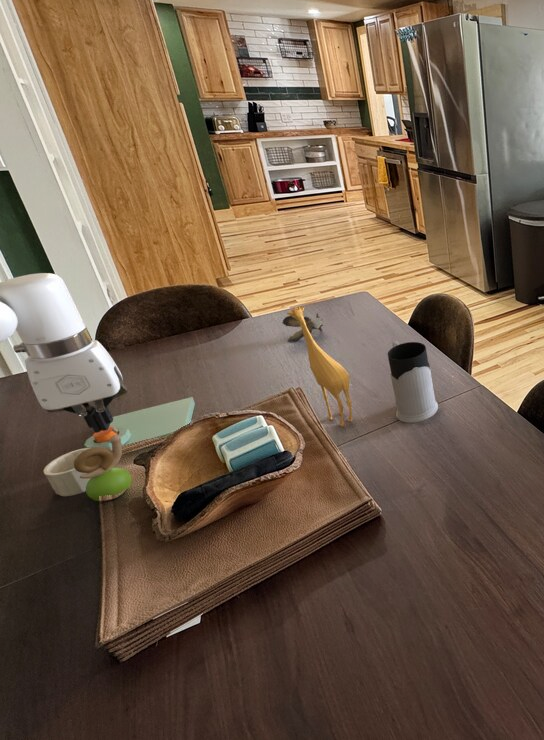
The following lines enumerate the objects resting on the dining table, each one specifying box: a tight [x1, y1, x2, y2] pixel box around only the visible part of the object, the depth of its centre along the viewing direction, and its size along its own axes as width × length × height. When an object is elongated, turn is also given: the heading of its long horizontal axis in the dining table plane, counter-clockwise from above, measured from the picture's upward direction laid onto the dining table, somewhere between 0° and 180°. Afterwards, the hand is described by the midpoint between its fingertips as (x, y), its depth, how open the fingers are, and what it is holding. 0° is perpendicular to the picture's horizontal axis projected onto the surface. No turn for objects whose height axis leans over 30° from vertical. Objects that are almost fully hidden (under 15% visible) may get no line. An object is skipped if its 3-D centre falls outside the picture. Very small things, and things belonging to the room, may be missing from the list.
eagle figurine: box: [281, 312, 324, 343], centre depth 134 cm, size 8×7×9 cm
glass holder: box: [387, 340, 439, 424], centre depth 103 cm, size 9×14×15 cm, turn 39°
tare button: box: [92, 427, 116, 443], centre depth 90 cm, size 3×3×2 cm
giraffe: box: [286, 305, 354, 427], centre depth 97 cm, size 16×4×25 cm, turn 56°
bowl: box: [42, 447, 90, 497], centre depth 83 cm, size 7×7×5 cm
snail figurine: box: [74, 428, 133, 502], centre depth 80 cm, size 5×6×12 cm
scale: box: [83, 396, 196, 450], centre depth 96 cm, size 14×14×4 cm
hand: (103, 427), depth 90 cm, fingers closed
